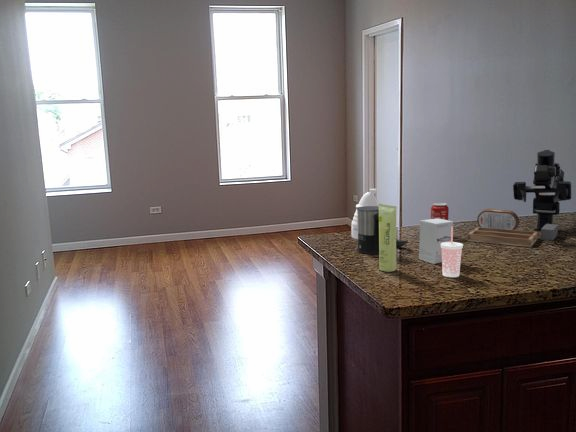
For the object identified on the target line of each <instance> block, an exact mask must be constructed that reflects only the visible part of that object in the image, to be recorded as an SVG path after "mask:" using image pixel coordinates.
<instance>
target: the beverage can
mask: <svg viewBox="0 0 576 432" xmlns="http://www.w3.org/2000/svg"><path fill="white" fill-rule="evenodd" d="M449 213H450V212H449V206H448V203H446V202H444V203H443V202H435V203H432V205H431V207H430V219H437V218H438V219H444V220H449Z"/></svg>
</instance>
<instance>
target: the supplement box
mask: <svg viewBox="0 0 576 432" xmlns="http://www.w3.org/2000/svg"><path fill="white" fill-rule="evenodd" d="M451 227H453V228H454V221H452V220H450V219H448V220H444V219H438V218H437V219H431V218H429V219H422V220H420V221H419V242H418V243H419V246H418V249H419V250H418V251H419V252H418V253H419V254H418V259H419V260H421V261H424V262H426V263H429V264H433V265H435V264H442V248H441V243H443V242H451Z"/></svg>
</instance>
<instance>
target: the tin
mask: <svg viewBox="0 0 576 432" xmlns="http://www.w3.org/2000/svg"><path fill="white" fill-rule="evenodd" d="M476 222H477V224H478V227H484V228H496V229H508V230H517V229H518V227H519V225H520V218H519V216H518V214H517V213H516V212H514V211H513V210H508V209H495V208H485V209H483V210H481V212H479V214H478V216H477V218H476Z"/></svg>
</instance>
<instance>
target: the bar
mask: <svg viewBox="0 0 576 432" xmlns="http://www.w3.org/2000/svg"><path fill="white" fill-rule="evenodd" d="M558 233H559V224H554V223H553V224H546V225H545V226H544V227H543V228H542V229H541V230H540V237H539V238H540V239H539V240H541V241H554V239H556V238H557V236H558Z"/></svg>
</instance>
